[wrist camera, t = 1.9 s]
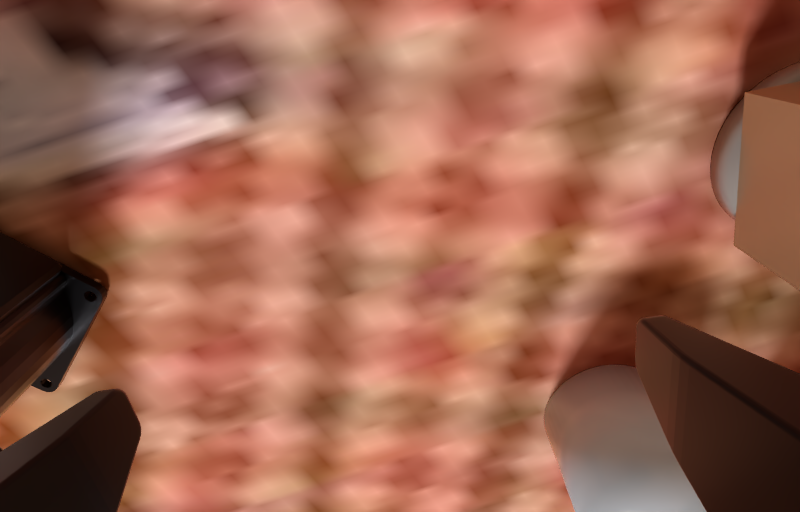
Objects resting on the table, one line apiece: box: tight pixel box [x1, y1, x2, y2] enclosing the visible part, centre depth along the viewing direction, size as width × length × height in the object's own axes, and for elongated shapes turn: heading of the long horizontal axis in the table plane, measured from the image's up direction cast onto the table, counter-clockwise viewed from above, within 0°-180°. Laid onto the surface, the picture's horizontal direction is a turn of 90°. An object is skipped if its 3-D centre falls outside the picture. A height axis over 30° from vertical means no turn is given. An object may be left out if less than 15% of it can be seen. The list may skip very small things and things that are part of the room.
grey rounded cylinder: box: [544, 365, 706, 512], centre depth 23 cm, size 6×6×6 cm
